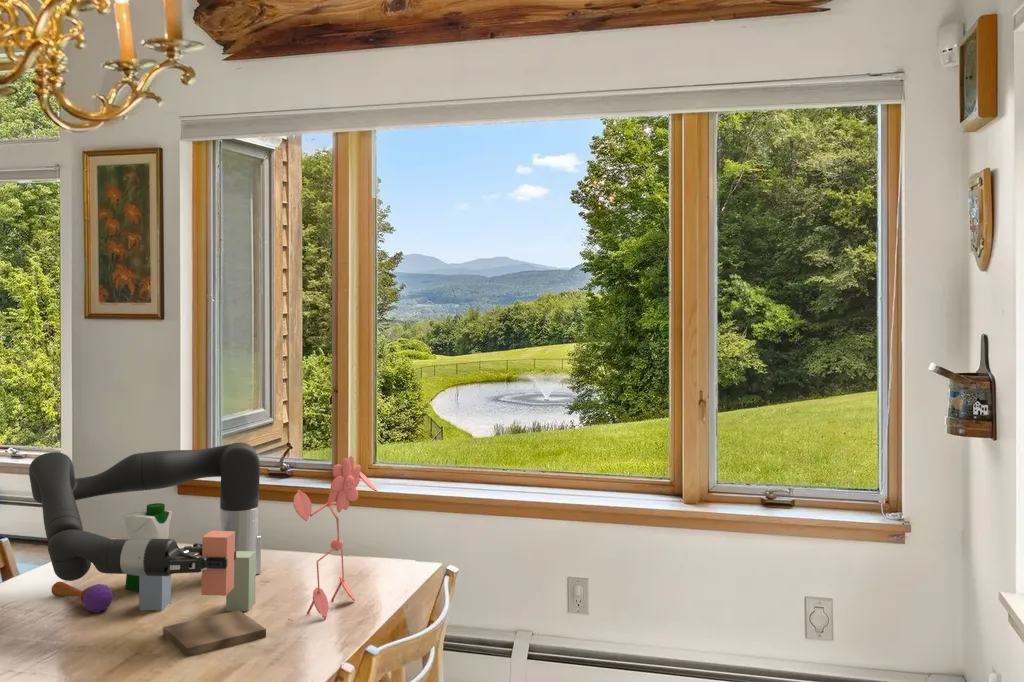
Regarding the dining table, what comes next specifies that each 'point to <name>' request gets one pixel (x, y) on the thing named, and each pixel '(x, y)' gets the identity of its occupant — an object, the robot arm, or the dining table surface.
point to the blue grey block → (154, 592)
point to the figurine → (342, 493)
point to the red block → (218, 547)
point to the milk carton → (146, 530)
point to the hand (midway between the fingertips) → (231, 559)
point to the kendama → (86, 595)
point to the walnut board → (213, 632)
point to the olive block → (243, 582)
